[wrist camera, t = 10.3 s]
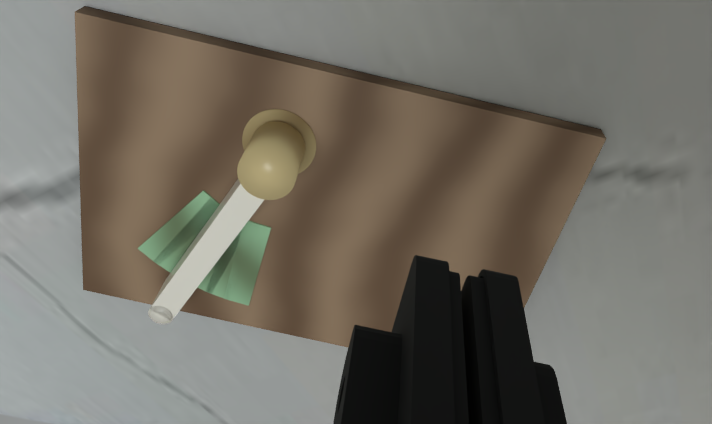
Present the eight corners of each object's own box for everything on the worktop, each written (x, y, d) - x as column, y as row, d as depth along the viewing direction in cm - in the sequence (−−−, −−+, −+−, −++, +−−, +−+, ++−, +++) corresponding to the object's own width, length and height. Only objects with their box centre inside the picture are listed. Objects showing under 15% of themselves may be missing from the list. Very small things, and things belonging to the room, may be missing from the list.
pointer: (269, 110, 35) (256, 136, 33) (315, 142, 36) (306, 170, 33) (149, 281, 43) (130, 314, 40) (190, 303, 44) (175, 338, 41)
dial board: (601, 129, 36) (606, 139, 35) (488, 365, 47) (489, 379, 46) (84, 6, 35) (74, 12, 34) (90, 279, 45) (82, 290, 44)
